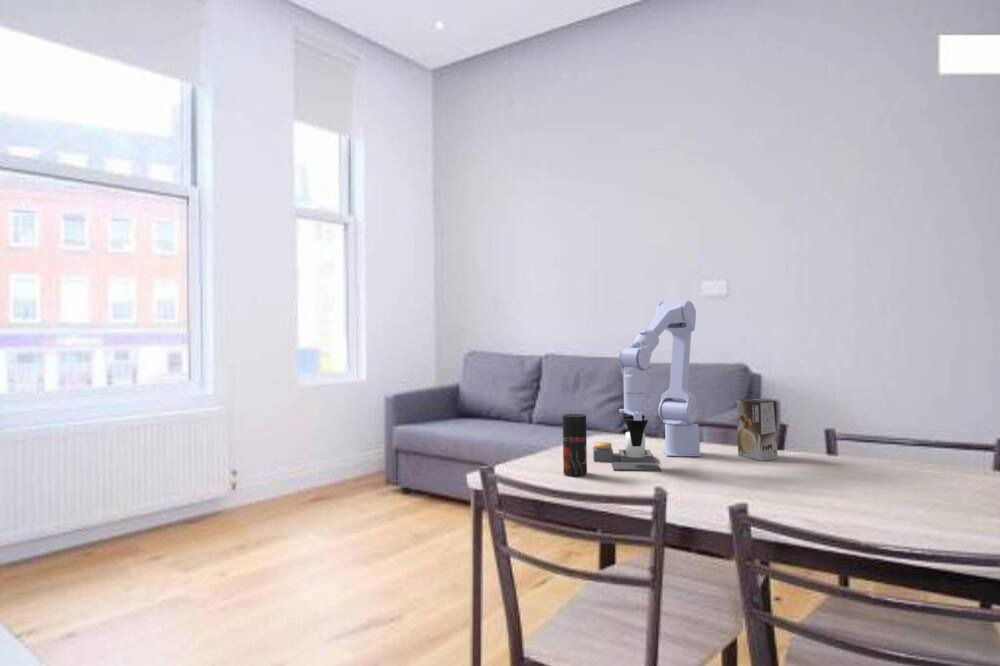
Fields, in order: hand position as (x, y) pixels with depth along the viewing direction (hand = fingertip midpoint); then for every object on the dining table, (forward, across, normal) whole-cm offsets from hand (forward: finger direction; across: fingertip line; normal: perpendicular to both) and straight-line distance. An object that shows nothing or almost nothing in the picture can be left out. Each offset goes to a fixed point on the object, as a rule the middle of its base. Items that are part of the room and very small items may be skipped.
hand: (635, 444), depth 174 cm
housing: (+6, -10, -4) cm, 12 cm away
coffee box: (+6, -14, +35) cm, 38 cm away
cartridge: (+3, 0, 0) cm, 3 cm away
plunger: (+6, -10, -8) cm, 14 cm away
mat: (+6, 0, 0) cm, 6 cm away
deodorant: (+6, +8, -16) cm, 19 cm away
